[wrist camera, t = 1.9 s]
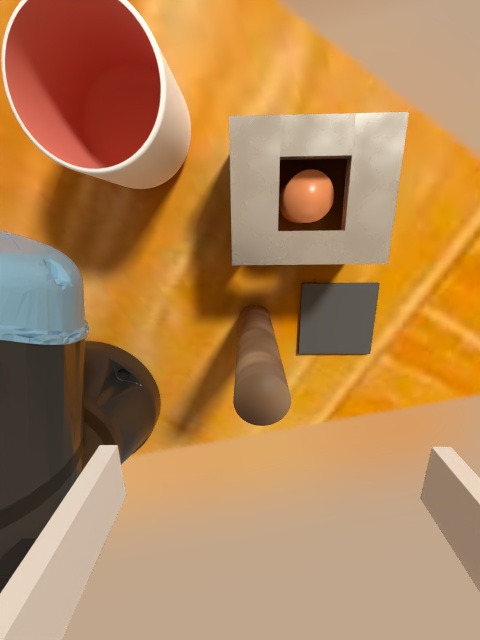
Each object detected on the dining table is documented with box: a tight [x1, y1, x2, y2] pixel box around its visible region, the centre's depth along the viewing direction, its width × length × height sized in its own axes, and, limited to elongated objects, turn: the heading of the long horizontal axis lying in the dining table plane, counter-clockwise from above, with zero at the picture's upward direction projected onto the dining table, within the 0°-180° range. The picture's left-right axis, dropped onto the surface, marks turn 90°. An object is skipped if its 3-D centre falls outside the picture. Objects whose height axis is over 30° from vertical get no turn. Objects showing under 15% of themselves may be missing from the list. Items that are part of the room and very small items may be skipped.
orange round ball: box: [279, 169, 334, 223], centre depth 25 cm, size 4×4×4 cm
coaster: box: [298, 283, 380, 354], centre depth 32 cm, size 8×8×1 cm
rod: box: [233, 305, 291, 426], centre depth 25 cm, size 3×3×16 cm
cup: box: [2, 0, 191, 189], centre depth 23 cm, size 10×10×10 cm
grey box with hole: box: [229, 112, 409, 265], centre depth 25 cm, size 12×10×8 cm
